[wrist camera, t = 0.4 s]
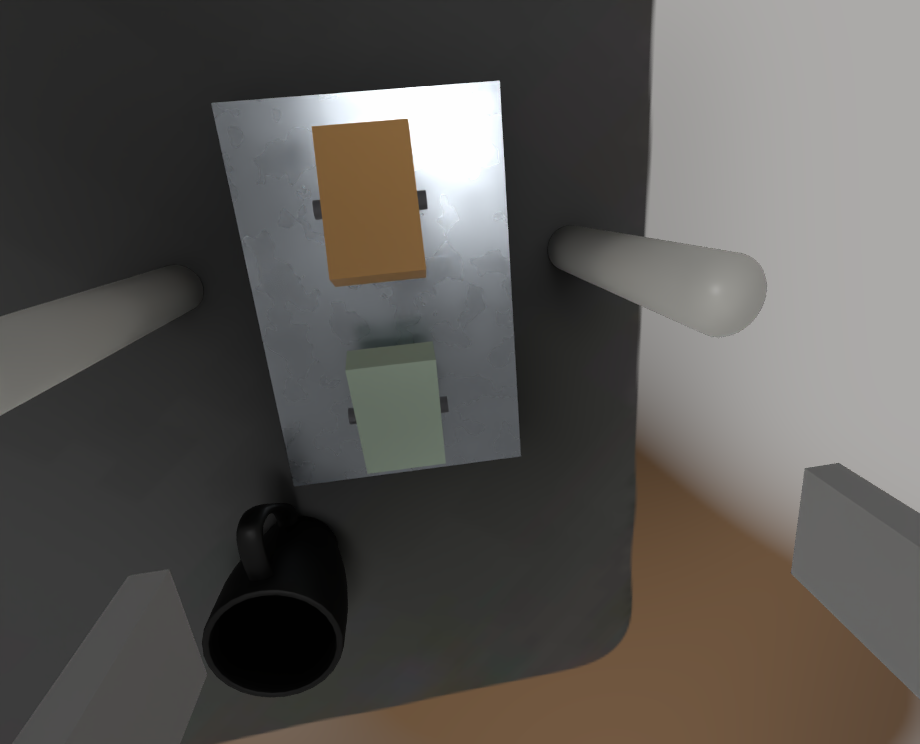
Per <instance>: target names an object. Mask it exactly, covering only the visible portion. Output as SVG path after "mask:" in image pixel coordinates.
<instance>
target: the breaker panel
mask: <svg viewBox="0 0 920 744" xmlns="http://www.w3.org/2000/svg"><path fill="white" fill-rule="evenodd" d="M211 105H212V109H213V114H214V119H215V123H216V128H217V132H218V137H219V142H220V146H221V151H222V155H223V160H224V165H225V169H226V174H227V179H228V183H229V188H230V192H231V197H232V202H233V206H234V211H235V215H236V220H237V225H238V229H239V234H240V239H241V243H242V248H243V252H244V257H245V262H246V266H247V271H248V276H249V280H250V285H251V289H252V294H253V299H254V303H255V308H256V312H257V317H258V322H259V326H260V331H261V336H262V340H263V345H264V349H265V354H266V359H267V363H268V368H269V372H270V377H271V382H272V386H273V391H274V396H275V400H276V405H277V409H278V414H279V419H280V423H281V428H282V432H283V437H284V442H285V446H286V451H287V456H288V460H289V465H290V469H291V474H292V479H293V483H294V486H302V485H309V484H317V483H324V482H331V481H339V480H346V479H354V478H361V477H369V476H376V475H384V474H391V473H399V472H406V471H414V470H421V469H429V468H436V467H444V466H451V465H459V464H466V463H474V462H481V461H489V460H496V459H504V458H511V457H519V456H521V451H520V433H519V415H518V398H517V380H516V362H515V344H514V327H513V309H512V291H511V274H510V256H509V238H508V221H507V203H506V185H505V167H504V150H503V132H502V114H501V97H500V81H490V82H477V83H464V84H451V85H438V86H425V87H412V88H399V89H386V90H373V91H360V92H347V93H334V94H321V95H308V96H295V97H282V98H269V99H256V100H243V101H230V102H217V103H211ZM395 119H408V122H409V130H410V138H411V146H412V155H413V163H414V171H415V180H416V188H417V191H420V190H426V195H427V206H428V209H425V210H419V213H420V221H421V229H422V238H423V246H424V254H425V263H426V278H417V279H407V280H398V281H388V282H379V283H369V284H360V285H350V286H341V287H335V286H334V285H333V283H332V282H331V281H330V280H329V272H328V263H327V255H326V246H325V238H324V229H323V221H322V219H320V220H316V219H315V217H314V213H313V206H312V201H313V200H320V195H319V186H318V178H317V169H316V161H315V152H314V144H313V135H312V127H311V126H322V125H334V124H346V123H359V122H371V121H383V120H395ZM430 341H433V346H434V352H435V358H436V366H437V377H438V387H439V397H443V396H447V401H448V409H449V412H446V413H441V419H442V429H443V440H444V450H445V461H446V464H438V465H430V466H423V467H415V468H408V469H400V470H393V471H385V472H378V473H370V474H368V473H367V469H366V464H365V459H364V455H363V450H362V446H361V441H360V436H359V432H358V427H357V424H351V425H350V423H349V418H348V408H353V404H352V399H351V395H350V390H349V385H348V381H347V376H346V371H345V368H346V355H347V351H352V350H361V349H369V348H378V347H387V346H396V345H404V344H413V343H422V342H430Z"/></svg>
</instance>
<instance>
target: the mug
mask: <svg viewBox="0 0 920 744" xmlns="http://www.w3.org/2000/svg"><path fill="white" fill-rule="evenodd" d="M271 513H273V514H274V515H275V517H276V519H277V523H276V524H275V525H273V526H272V527H271V528H270V530H269V531H268V532H267V533H266V534H265V535H264V536H263V525H264V522H265V519H266V518H267V516H268V515H269V514H271ZM237 546H238V550H239V554H240V558H241V561H240V562H239V563H238V565H237V566H236V567H235V568H234V570H233V571H232V573H231V574H230V576H229V578H228V579H227V581H226V583H225V585H224V587H223V589H222V591H221V593H220V595H219V597H218V599H217V601H216V603H215V606H214V608H213V610H212V612H211V615H210V617H209V619H208V621H207V623H206V626H205V628H204V633H203V639H202V646H203V654H204V657H205V660H206V662H207V664H208V666H209V668H210V669H211V670H212V671H213V673H214V674H215V675H216V676H217V677H218V678H219V679H220V680H221V681H223V682H224V683H225V684H227V685H228V686H230V687H232V688H234V689H236V690H238V691H240V692H243V693H247V694H250V695H254V696H261V697H285V696H290V695H294V694H298V693H301V692H304V691H306V690H308V689H311V688H313V687H314V686H316V685H317V684H319V683H320V682H322V681H323V680H325V679H326V678H327V677H328V675H329V674H330V673H331V672H332V671H333V670H334V668H335V667H336V665H337V663H338V662H339V660H340V658H341V655H342V651H343V647H344V640H345V632H346V623H347V613H348V596H347V581H346V574H345V569H344V565H343V561H342V558H341V555H340V552H339V548H338V543H337V540H336V536H335V535H334V533H333V532H332V530H331V529H330V528H329V527H328V526H327V525H326V524H324V523H323V522H321V521H319V520H317V519H314V518H311V517H305V516H298V515H297V512H296V509H295V508H294V507H293V506H292V505H290V504H287V503H275V504H262V505H258V506H254V507H252V508H250V509H249V510H247V511H246V512H245V513H244V514H243V516H242V517H241V519H240V521H239V524H238V528H237Z"/></svg>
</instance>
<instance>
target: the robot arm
mask: <svg viewBox="0 0 920 744" xmlns="http://www.w3.org/2000/svg"><path fill="white" fill-rule="evenodd" d="M791 574H792V575H793V576H794V577H795V578H796V579H797V580H798V581H800V583H801V584H802V585H804V586H805V587H806V588H807V589H808V590H809V591H810V592H811V593H812V594H813V595H814V596H815V597H816V598H817V599H818V600H819V601H820V602H821V603H822V604H823V605H824V606H825V607H826V608H827V609H828V610H829V611H830V612H831V613H832V614H833V615H834V616H835V617H836V618H837V619H838V620H839V621H840V622H841V623H843V625H844V626H845V627H846V628H847V629H848V630H850V631H851V632H852V633H853V634H854V635H855V636H856V637H857V638H858V639H859V640H860V641H861V642H862V643H863V644H864V645H865V646H866V647H867V648H868V649H869V650H870V651H871V652H872V653H873V654H874V655H875V656H876V657H877V658H878V659H879V660H880V661H881V662H882V663H883V664H884V665H885V666H886V667H888V668H889V670H891V672H893V674H895V676H897V677H898V678H899V679H900V680H901V681H902V682H903V683H904V684H905V685H906V686H907V687H908V688H909V689H910V690H911V691H912V692H913V693H914V694H915V695H916V696H917V697H918V698H919V699H920V513H918V512H917V511H915V510H913V509H912V508H910V507H908V506H906V505H905V504H904V503H902V502H900V501H899V500H897V499H896V498H894V497H892V496H891V495H889V494H888V493H886V492H884V491H883V490H881V489H880V488H878V487H876V486H875V485H873V484H872V483H870V482H868V481H867V480H865V479H864V478H862V477H860V476H859V475H857V474H856V473H854V472H852V471H851V470H849V469H847V468H846V467H844V466H843V465H841V464H839V463H836V464H830V465H823V466H817V467H811V468H805V471H804V479H803V486H802V494H801V502H800V509H799V517H798V524H797V532H796V540H795V548H794V554H793V562H792V570H791ZM206 676H207V673H206V670H205V667H204V665H203V662H202V659H201V656H200V654H199V651H198V648H197V645H196V642H195V640H194V637H193V634H192V631H191V629H190V626H189V623H188V620H187V617H186V615H185V612H184V609H183V606H182V604H181V601H180V598H179V595H178V593H177V590H176V587H175V584H174V581H173V579H172V576H171V573H170V570H169V569H168V570H162V571H155V572H149V573H143V574H136V575H130V576H128V577H127V579H126V580H125V582H124V583H123V584H122V586H121V587H120V589H119V590H118V592H117V593H116V595H115V596H114V597H113V599H112V600H111V602H110V603H109V605H108V606H107V608H106V609H105V610H104V612H103V613H102V615H101V616H100V618H99V619H98V621H97V622H96V623H95V625H94V626H93V628H92V629H91V631H90V632H89V634H88V635H87V636H86V638H85V639H84V641H83V642H82V644H81V645H80V647H79V648H78V649H77V651H76V652H75V654H74V655H73V657H72V658H71V660H70V661H69V662H68V664H67V665H66V667H65V668H64V670H63V671H62V673H61V674H60V675H59V677H58V678H57V680H56V681H55V683H54V684H53V686H52V687H51V688H50V690H49V691H48V693H47V694H46V696H45V697H44V699H43V700H42V701H41V703H40V704H39V706H38V707H37V709H36V710H35V712H34V713H33V714H32V716H31V717H30V719H29V720H28V722H27V723H26V725H25V726H24V727H23V729H22V730H21V732H20V733H19V735H18V736H17V738H16V739H15V740H14V742H13V743H12V744H180V742H181V740H182V737H183V735H184V732H185V729H186V727H187V724H188V722H189V719H190V717H191V714H192V712H193V709H194V706H195V704H196V701H197V699H198V696H199V694H200V691H201V689H202V686H203V683H204V681H205V678H206Z"/></svg>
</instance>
